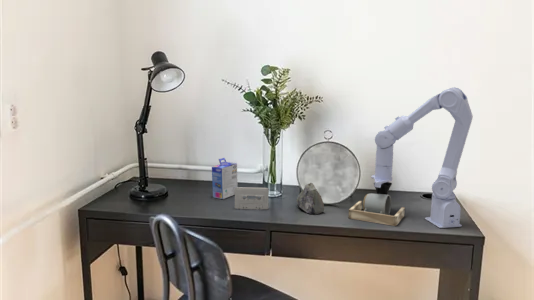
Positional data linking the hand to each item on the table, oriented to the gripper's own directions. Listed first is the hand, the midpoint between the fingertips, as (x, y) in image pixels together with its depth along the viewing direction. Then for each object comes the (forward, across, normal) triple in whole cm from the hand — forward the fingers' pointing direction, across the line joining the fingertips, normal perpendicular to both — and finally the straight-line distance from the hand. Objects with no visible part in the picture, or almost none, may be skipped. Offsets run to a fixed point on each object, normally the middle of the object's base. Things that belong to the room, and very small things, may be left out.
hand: (381, 202), depth 174 cm
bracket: (+3, +6, 0) cm, 7 cm away
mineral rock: (+4, +9, -23) cm, 25 cm away
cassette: (+4, +19, -42) cm, 46 cm away
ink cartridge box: (+4, +10, -58) cm, 59 cm away
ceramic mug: (+4, +6, 0) cm, 7 cm away
